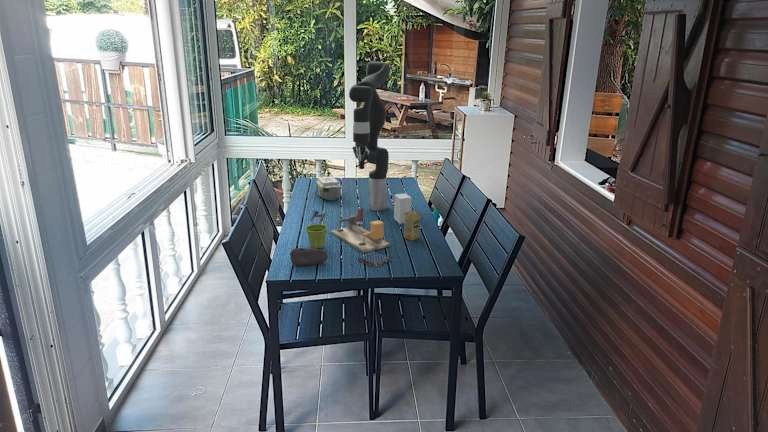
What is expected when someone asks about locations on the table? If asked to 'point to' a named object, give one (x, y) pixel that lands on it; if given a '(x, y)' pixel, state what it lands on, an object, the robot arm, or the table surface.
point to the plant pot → (316, 235)
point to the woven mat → (374, 259)
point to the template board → (358, 236)
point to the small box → (401, 206)
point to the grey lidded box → (328, 188)
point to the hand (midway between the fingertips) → (361, 168)
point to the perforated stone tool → (307, 256)
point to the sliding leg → (375, 230)
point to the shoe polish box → (411, 225)
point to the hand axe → (359, 218)
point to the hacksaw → (318, 215)
